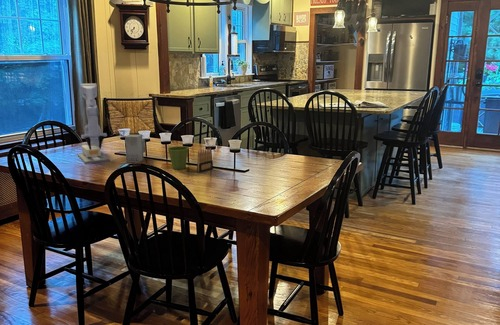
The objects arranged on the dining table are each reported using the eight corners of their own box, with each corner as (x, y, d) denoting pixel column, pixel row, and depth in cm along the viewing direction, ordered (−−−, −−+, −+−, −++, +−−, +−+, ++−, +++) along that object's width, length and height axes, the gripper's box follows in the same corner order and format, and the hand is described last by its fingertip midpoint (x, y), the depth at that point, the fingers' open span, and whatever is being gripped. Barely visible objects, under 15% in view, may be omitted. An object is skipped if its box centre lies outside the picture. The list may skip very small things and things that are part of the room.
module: (85, 155, 276) (85, 148, 275) (99, 154, 280) (98, 147, 279) (87, 157, 272) (86, 150, 271) (100, 155, 276) (100, 148, 275)
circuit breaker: (146, 157, 280) (145, 132, 277) (138, 162, 266) (137, 136, 263) (134, 156, 281) (133, 132, 277) (126, 161, 267) (124, 136, 264)
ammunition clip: (199, 173, 240) (198, 150, 238) (196, 172, 241) (196, 150, 239) (213, 169, 248) (212, 147, 246) (210, 168, 250) (210, 147, 247)
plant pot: (181, 164, 259) (180, 145, 257) (194, 168, 251) (193, 148, 249) (163, 168, 251) (162, 148, 249) (176, 171, 243) (175, 151, 241)
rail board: (77, 155, 285) (76, 145, 284) (100, 153, 292) (99, 143, 291) (85, 163, 263) (84, 153, 262) (109, 160, 270) (109, 150, 268)
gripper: (81, 128, 266) (83, 151, 269) (107, 126, 273) (108, 148, 276) (79, 127, 272) (81, 149, 275) (104, 125, 279) (106, 147, 282)
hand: (95, 149), depth 276 cm, fingers closed on module, 5 cm apart
